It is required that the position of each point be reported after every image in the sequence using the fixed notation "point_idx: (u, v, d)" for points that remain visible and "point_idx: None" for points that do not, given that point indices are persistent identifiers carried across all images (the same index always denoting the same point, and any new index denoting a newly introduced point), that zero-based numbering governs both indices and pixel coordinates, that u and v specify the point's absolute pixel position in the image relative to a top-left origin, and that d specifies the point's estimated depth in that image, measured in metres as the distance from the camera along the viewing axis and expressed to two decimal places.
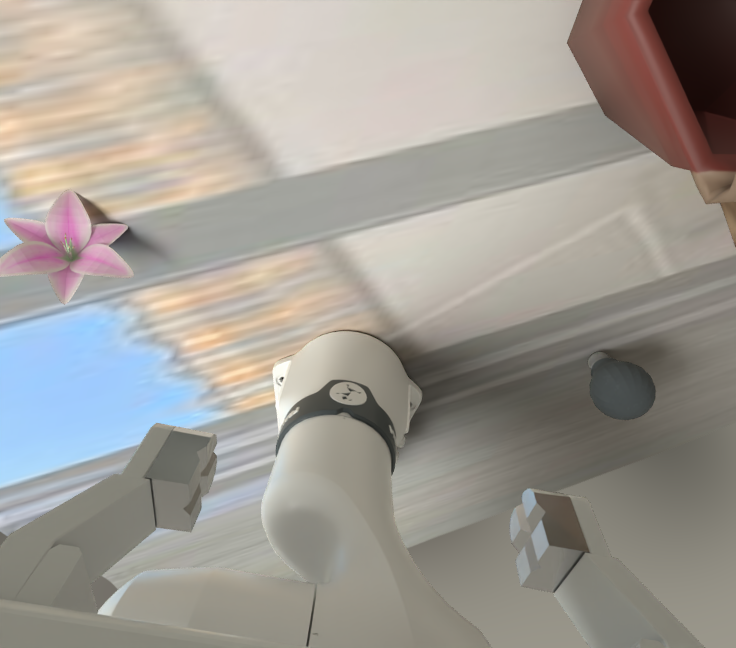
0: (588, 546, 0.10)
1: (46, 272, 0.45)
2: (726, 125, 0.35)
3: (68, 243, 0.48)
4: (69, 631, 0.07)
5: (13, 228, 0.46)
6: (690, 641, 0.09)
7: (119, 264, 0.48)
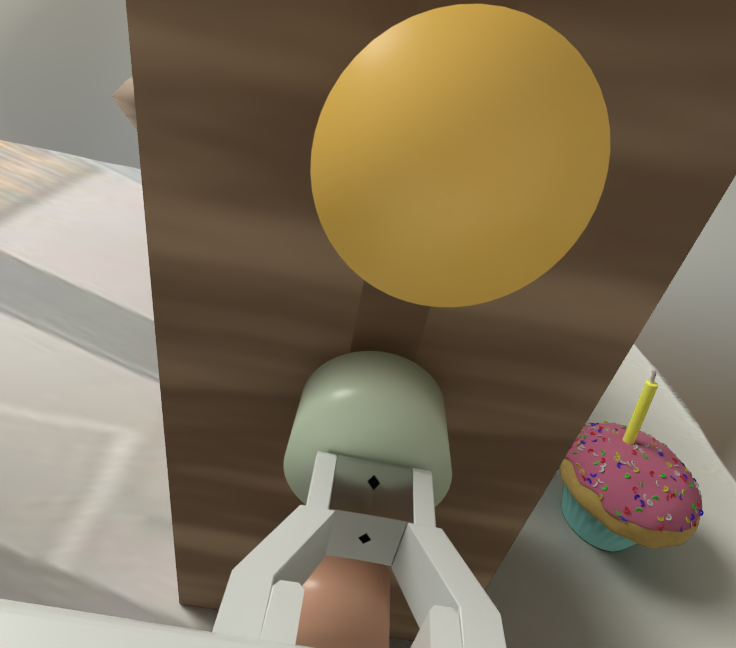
0: (414, 516, 0.10)
1: None
2: None
3: None
4: (69, 631, 0.07)
5: None
6: (487, 607, 0.09)
7: None
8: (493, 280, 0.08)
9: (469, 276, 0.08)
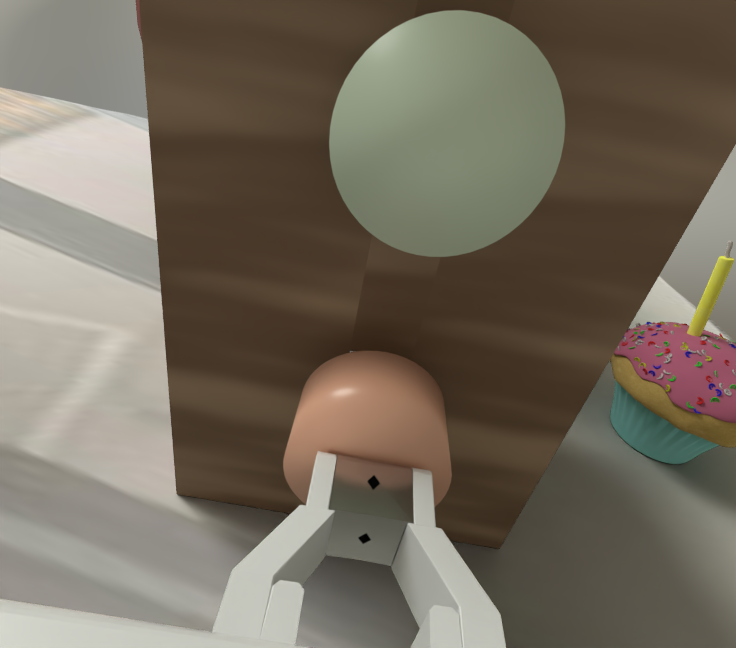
0: (413, 517, 0.10)
1: None
2: None
3: None
4: (69, 631, 0.07)
5: None
6: (486, 608, 0.09)
7: None
8: None
9: None
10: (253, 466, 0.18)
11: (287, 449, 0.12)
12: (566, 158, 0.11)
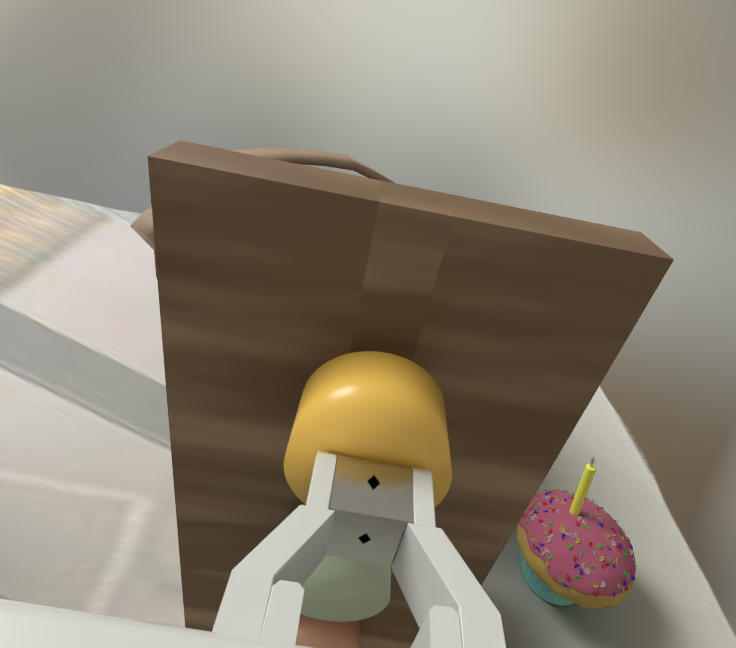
0: (414, 516, 0.10)
1: None
2: None
3: None
4: (69, 631, 0.07)
5: None
6: (487, 607, 0.09)
7: None
8: None
9: None
10: None
11: None
12: None
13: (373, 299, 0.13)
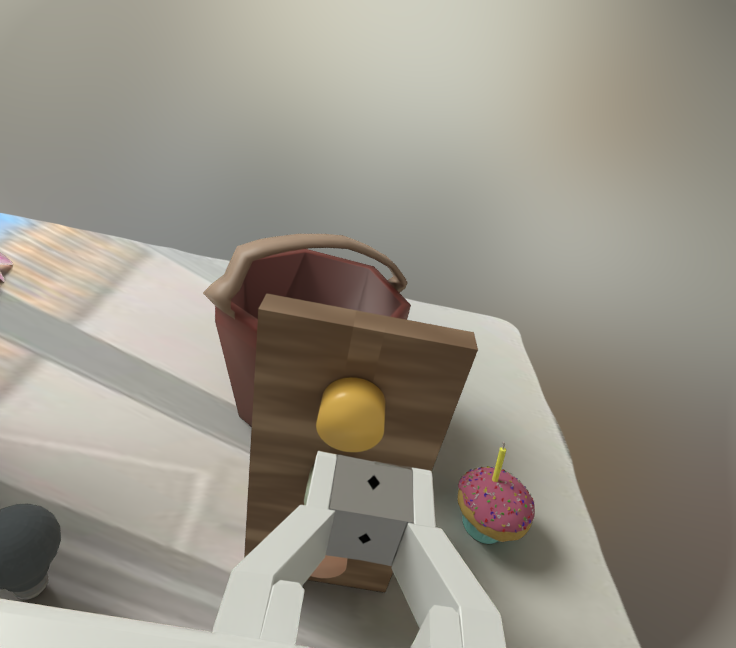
0: (414, 516, 0.10)
1: None
2: None
3: None
4: (69, 631, 0.07)
5: None
6: (487, 607, 0.09)
7: None
8: (362, 447, 0.30)
9: (356, 446, 0.30)
10: None
11: None
12: None
13: (352, 363, 0.30)
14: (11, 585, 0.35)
